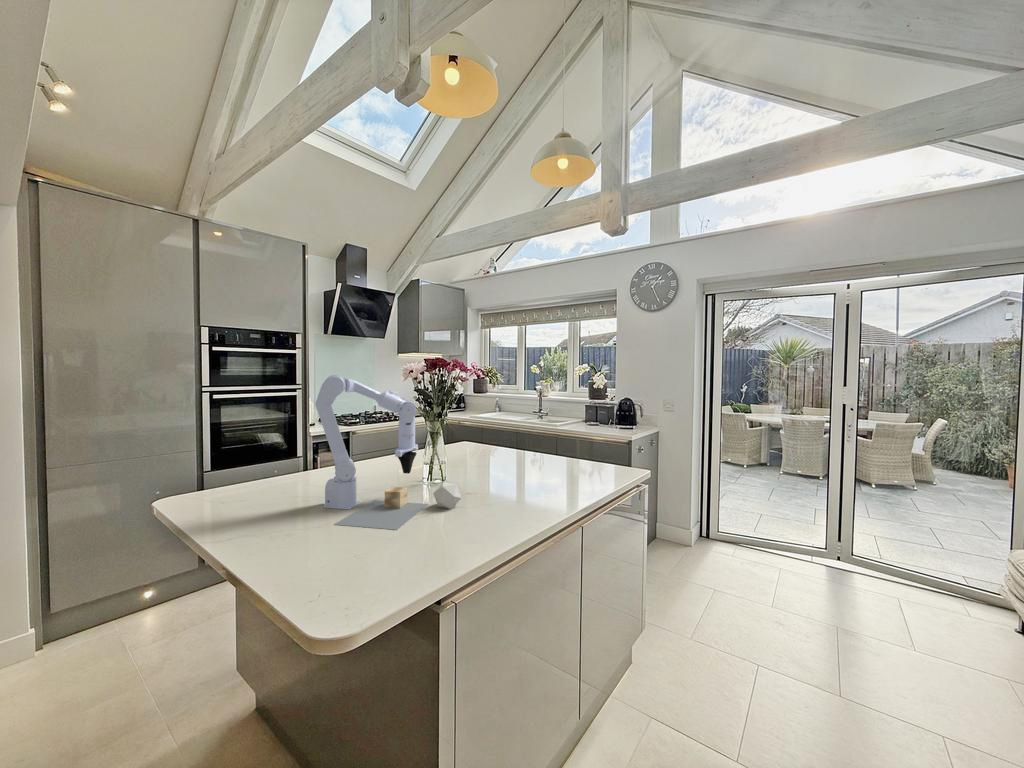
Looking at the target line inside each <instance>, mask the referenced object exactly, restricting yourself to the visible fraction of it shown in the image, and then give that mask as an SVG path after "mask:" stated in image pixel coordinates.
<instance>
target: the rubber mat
mask: <svg viewBox="0 0 1024 768" xmlns="http://www.w3.org/2000/svg"><path fill="white" fill-rule="evenodd" d="M428 505H429V503H421V502H420V503H419V502H408V501H407V504H406V505H405V506H403V507H402V508H401V509H396V508H385V500H379V499H378V500H372V501H371V502H369V503H367V504H365V505H364V506H362V507H361V508H359V509H357V510H355V511H354V512H352V513H351V514H349V515H347V516H345V517H343V519H341V520H339V521H337V522H335V523H334V524H333V525H334V526H339V527H340V526H341V527H352V528H353V527H354V528H364V529H376V530H377V529H378V530H389V531H398V530H399V529H400V528H402V526H404V525H405V524H406V523H408V522H409V521H410V520H411V519H413V518H414V517H415V516H416V515H418V514H419V513H420V512H421V511H422V510H424V509H425V508H426V507H427V506H428Z"/></svg>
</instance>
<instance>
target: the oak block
mask: <svg viewBox="0 0 1024 768" xmlns="http://www.w3.org/2000/svg"><path fill="white" fill-rule="evenodd" d="M384 501H385V508H396V509H401V508H402V507H403V506H405V505H406V504H407V502H408V487H405V486H404V487H403V486H402V487H401V486H391V487H389V488H387V489H386V490H384Z"/></svg>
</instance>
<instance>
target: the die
mask: <svg viewBox="0 0 1024 768" xmlns="http://www.w3.org/2000/svg"><path fill="white" fill-rule="evenodd" d="M432 494H433V497H434V500H435V503H436V505H437V507H439V508H443V509H449V510H452V509H454V507H455V506H456V505H457V504H458V503H459V502H460V501H461V499H462V495H461V493H460V491H459V488H458V485H457V483H456V484H455V483H450V482H442V484H440V486H438V488H437V489H436V490H435V491H434V492H433V493H432Z"/></svg>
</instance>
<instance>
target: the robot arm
mask: <svg viewBox="0 0 1024 768" xmlns="http://www.w3.org/2000/svg"><path fill="white" fill-rule="evenodd" d="M343 392H346V393H356V394H359V395H361V396H364V397H366V398H369V399H372V400H375V401H376V402H377V405H378V407H380V408H383V409H385V410H387V411H389V412H392V413H394V414H398V417H399V418H398V447H397V448H396V450H394V457H396V458H398V460H399V463H400V466H401V469H402V472H403V473H402V474H410V473H411V472H412V467H413V464H414V461H415V458H416V456H417V450H419V444H418V443H416V415H417V413H418V409H417V406H416V405H415V403H413V402H411V401H409V400H408V399H407V398H406V397H400V396H399V395H396V394H394V391H392V390H389V391H387V390H385V391H382V392H380V391H377V390H375V389H373V388H372V387H370V386H367V385H366V384H363V383H361V382H359V381H357V380H354V379H350V378H347V377H342V376H340V375H338V374H332V375H329V376H328V377H326V379H325V380H324V381H323V382H322V384H321V386H320V389H319V392H318V394H317V398H316V400H315V407H316V411H317V414H318V416H319V419H320V422H321V426H322V429H323V431H324V434H325V437H326V441H327V442H328V445H329V448H330V452H331V454H332V458H333V462H334V470H335V471H334V474H335V476H334V477H333V478H330V479H328V480H327V481H326V483H325V486H324V505H323V508H325V509H339V510H351V509H353V508H354V507H356V506H357V505H359V504H361V503H362V500H357V476H356V471H357V469H356V466H355V462H354V460H353V459H352V458H351V457H350V456H349V454H348V450H347V449H346V445H345V442H344V439H343V436H342V433H341V431H340V428H339V425H338V421H337V419H336V416H335V413H334V409H333V406H332V405H334V402H335V401H336V399H337V398H338V396H340V395H341V394H342V393H343Z"/></svg>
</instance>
